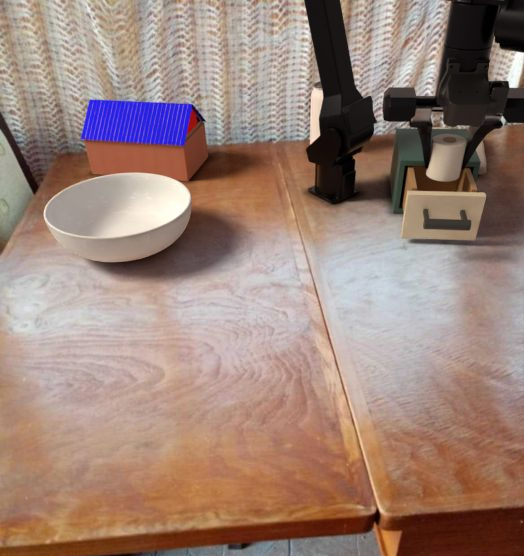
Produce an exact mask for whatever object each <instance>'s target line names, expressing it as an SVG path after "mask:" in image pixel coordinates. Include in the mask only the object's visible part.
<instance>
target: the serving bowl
mask: <svg viewBox="0 0 524 556" xmlns="http://www.w3.org/2000/svg"><path fill="white" fill-rule="evenodd" d="M192 203H193V198H192V194H191V191H190V190H189V188H188V187H187V186H186V185H185V184H183V182H181V181H178V180H175V179H172V178H169V177H166V176H162V175H157V174H150V173H119V174H111V175H100V176H97V177H93V178H89V179H84V180H82V181H80V182H77V183H73V184H71V185H70V186H68V187H66V188H64V189H62V190H61V191H60V192H58V193H57V194H55V195H54V196H53V197H51V198H50V200H49V201H48V202H47V203H46V205H45V206H44V210H43V219H44V223H45V224H46V226H47V228H48V230H49V231H50V233H51V235H52V236H53V237H54V239H55V240H56V241H57V242H58V243H59V244H60V245H61V246H62V247H63V248H65V249H66V250H67V251H69V252H71V253H72V254H74V255H76V256H79V257H81V258H84V259H87V260H90V261H94V262H103V263H122V262H124V263H125V262H131V261H136V260H141V259H145V258H148V257H151V256H153V255H156V254H158V253H159V252H161V251H163V250H165V249H167V248H168V247H170V246H171V245H173V244H174V243H175V242H176V241H177V240H179V238H180V237H181V236H182V234H183V233H184V232H185V230H186V228H187V226H188V225H189V221H190V219H191V213H192V205H193V204H192Z"/></svg>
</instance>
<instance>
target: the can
mask: <svg viewBox="0 0 524 556" xmlns="http://www.w3.org/2000/svg"><path fill="white" fill-rule="evenodd" d="M310 94H311V95H310V123H309V124H310V126H309V129H310V130H309V145H311V144H312V143H313V142H314V141H315V140H316V139H317V138H318V137H319V136H320V129H319V115H320V110H321V106H322V101H323V91H322V86H321V82H320V81H317V82H314V83H313V88H312V91H311V93H310Z"/></svg>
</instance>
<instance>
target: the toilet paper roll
mask: <svg viewBox="0 0 524 556" xmlns="http://www.w3.org/2000/svg"><path fill="white" fill-rule="evenodd" d="M466 144H467V140H466V139H465V138H464V137H462V136H459V135H454V134H440V135H436V136H434V137H433V138H432V143H431V150H430V162H429V167H428V169H427V172H426V175H427V176H428V177H429V178H431V179H433V180H436V181H443V182H448V181H454V180H456V179H458V178H459V176H460V171H461V167H462V162H463V157H464V153H465V148H466Z"/></svg>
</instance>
